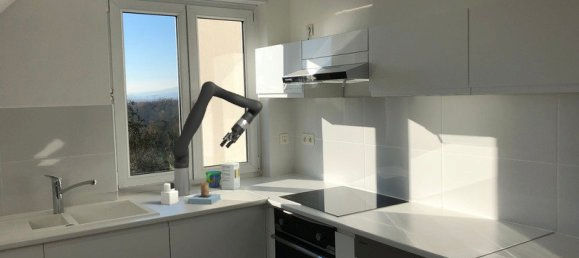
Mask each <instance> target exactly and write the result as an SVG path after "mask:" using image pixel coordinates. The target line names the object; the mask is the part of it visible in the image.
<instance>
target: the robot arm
mask: <svg viewBox="0 0 579 258" xmlns="http://www.w3.org/2000/svg"><path fill="white" fill-rule="evenodd" d="M213 97H215V98H218V99H221V100H224V101H226V102H228V103H230V104H232V105H234V106H237V107H240V108H241V109H247V110H246V111H245V112H244V113H242V115H241V116H240V118H239V119H238V120H236V121H235V123H234V124H233V125H232V126H231V128H230V130H231V131H228V132H227V133H226V134H225V135H224V136H223V138H222V141H221V142H220V144H219V146H220V147H221V148H223V147H226V148H227V149H230V147H231V146H232V145H233V144H235V143H237V141H238V140H239V138H240V137H241V136H242V135H243V134H244V132H245V131H246V130H247V129H248V127H249V125H250V124H252V122H253V121H254V119H255V118H256V117H257V116H258V115H259V114H260V113H261V111H262V109H263V103H262V102H261V101H259V100H257V99H253V98H250V97H246V96H243V95H241V94H238V93H235V92H234V91H233V92H232V91H229V90H227V89H225V88H222V87H220V86H219V85H218V84H216V83H215V82H213V81H210V80H209V81H205V82H204V83H202V85H201V88H200V90H199V94H198V97H197V99H196V101H195V103H194V104H193V106H192V107H191V109H190V111H189V113H188V115H187V117H186V119H185V122H184V123H183V126H182V129H181V132H180V134H179V136H178V138H177V140H176V141H175V143H174V144H173V146H172V149H171V150H172V155H174V161H173V173H174V174H173V175H174V176H173V177H174V179H173V180H172V183H174V187H175V190H176V191H178V197H186V196H189V195H191V190H190V189H191V188H190V148H189V146H190V144H191V141H192V139H193V137H194V136H195V134H196V133H197V131H198V130H199V129H200V126H201V125H202V123H203V120H204V117H205V115H206V112H207V109H208V106H209V104H210V102H211V100H212V99H213Z"/></svg>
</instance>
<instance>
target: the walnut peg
mask: <svg viewBox="0 0 579 258" xmlns="http://www.w3.org/2000/svg"><path fill="white" fill-rule="evenodd" d="M200 194H201V198H208V197H209V194H210V187H209V183H208V182H206V181H204V182H200Z"/></svg>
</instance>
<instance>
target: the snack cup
mask: <svg viewBox="0 0 579 258" xmlns="http://www.w3.org/2000/svg"><path fill="white" fill-rule="evenodd" d="M205 176H206V181H205V182H208V183H209V188H218V187H220V186H221V181H222V172H221V170H209V171H206V172H205Z"/></svg>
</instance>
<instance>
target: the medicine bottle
mask: <svg viewBox="0 0 579 258" xmlns="http://www.w3.org/2000/svg"><path fill="white" fill-rule="evenodd" d="M178 203H179V196H178V191H176V190H175V187H174V183H173V181H172V182H165V183H164V184H163V190H162V191H161V192H160V204H161V205H167V206H171V205H174V204H178Z"/></svg>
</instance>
